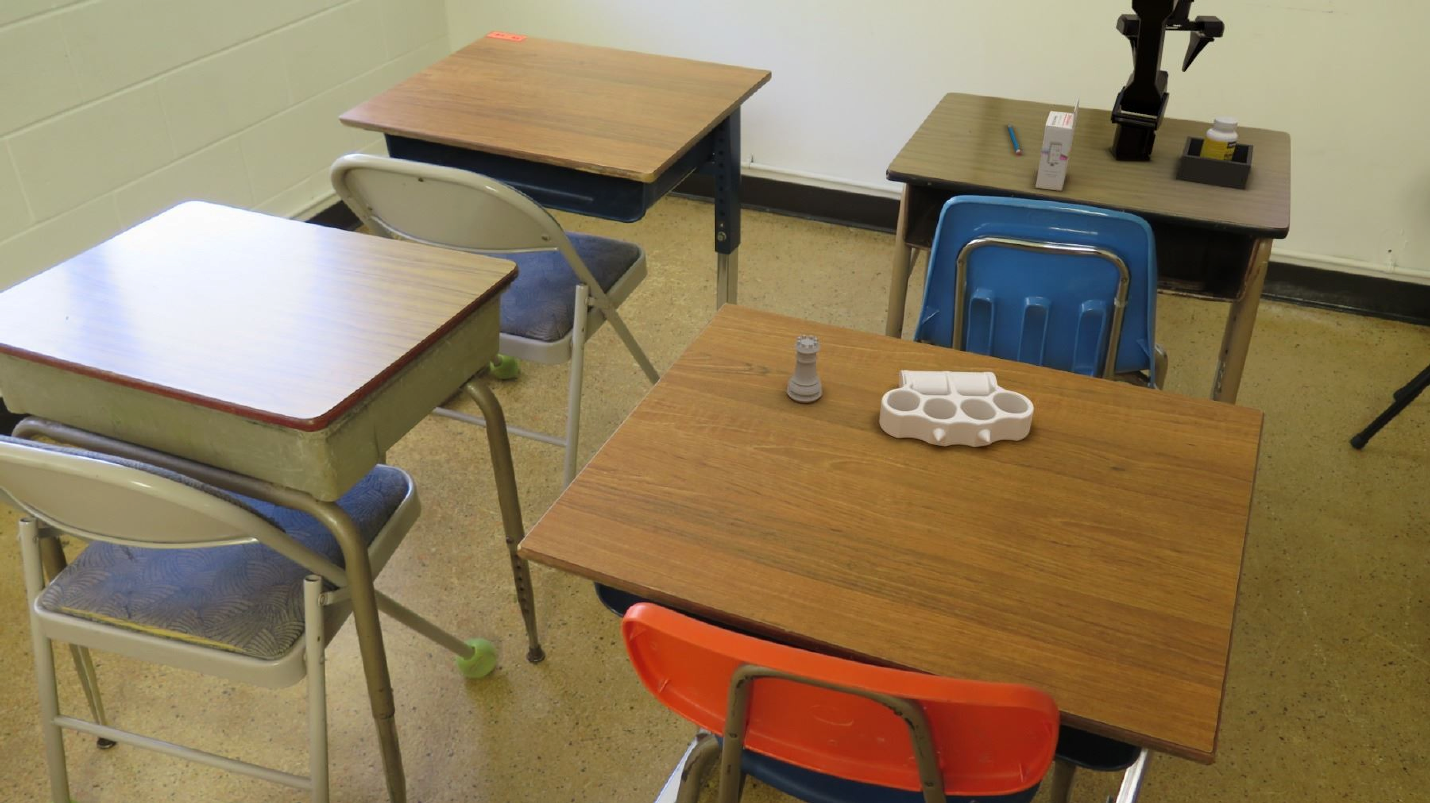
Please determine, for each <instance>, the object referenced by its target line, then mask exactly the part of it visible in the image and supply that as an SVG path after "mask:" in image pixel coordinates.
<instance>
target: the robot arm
mask: <svg viewBox="0 0 1430 803" xmlns="http://www.w3.org/2000/svg"><path fill="white" fill-rule="evenodd" d="M1192 3H1195V0H1131V9H1132V11H1133V12H1134V13H1121V15H1120V16H1118V18H1117V20H1116V26H1115V29H1116V30H1117V31H1118V32H1119V33H1120V34H1121V36H1124V37H1125V38H1126V39H1127V40H1128V41H1129V44H1130V49H1131V58H1132V66H1133V70H1132V72H1131V73H1130V75H1129V76H1128V79H1127V82H1126V84H1125V85H1123V86H1122V88H1121V90H1120V91H1119V92H1118V93H1117V96H1116V98H1115V102H1114V104H1113V106H1112V111H1111V116H1110V119H1109V120H1110V121H1111V124H1113V125H1115V124H1116V127H1115V128H1116V129H1115V133H1114V137H1113V142H1112V145H1109V146H1108V150H1109V151H1110V153H1111V155H1112V156H1113V157H1114V159H1115V160H1116V161H1138V162H1139V161H1140V162H1141V161H1143V162H1150V161H1152V160H1151V159H1152V157H1151V155H1152V153H1153V150H1154V145H1155V141H1156V137H1157V134H1156V133H1155V132H1157V131H1158V130H1159V128H1160V127H1161V126H1162V123H1163V120H1164V117H1165V113H1166V110H1167V107H1168V104H1169V98H1170V92H1168V84H1169V72H1168V71H1167V70H1161V67H1162V60H1163V52H1164V45H1165V38H1166V31H1167V32H1168V31H1169V32H1170V31H1172V32H1190V33H1189V43H1188V46H1187V49H1186V52H1185V55H1184V58H1183V61H1182V67H1181V71H1182V72H1183V73H1185V72H1187V70H1188V69H1189V68H1190V66H1191V65H1192V64H1193V62H1194V61H1195V59H1196V58H1197V57H1198V56H1199V54H1200V53H1201V52H1202V51H1203V50H1204V49H1205V48H1206V46H1207V45H1208V44H1209V43H1214V42H1215V39H1216V38H1223V36H1224V32H1225V29H1226V28H1225V22H1224V21H1223V20H1221V18H1219V17H1217V16H1216V15H1197V16H1196V17H1195V18H1194V20H1191V19H1190V18H1189V16H1190V13H1191V7H1192ZM1136 114H1138V115H1136ZM1143 115H1144V116H1143ZM1149 116H1150V117H1149ZM1154 117H1155V118H1154Z"/></svg>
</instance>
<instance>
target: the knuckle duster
mask: <svg viewBox="0 0 1430 803" xmlns="http://www.w3.org/2000/svg"><path fill="white" fill-rule="evenodd" d="M1034 411H1035V407H1034V404H1033V402H1032V401H1031V400H1030V398H1028V397H1027V396H1025V395H1023V394H1021V393H1019V392H1016V391H1013V390H1007V389H1005V388H1003V387H1001V386H1000V385H998V381H997V377H996V374H995V373H994V372H992V371H983V372H975V371H950V370H942V371H940V370H939V371H936V370H935V371H933V370H908V369H907V370H905V369H901V370H899V373H898V387H897V388H894V389H891V390H889V391H887V392H886V393H885V394H883V396H882V398H881V401H880V411H879V427H880V429H882V431H883V432H885V433H886V434H887V435H889V436H891V437H893V438H897V439H909V438H910V439H916V440H921V441H923V442H925V443H927V444H928V445H935V446H941V447H949V446H955V445H956V446H957V445H961V446H968V447H971V448H978V447H985V446H990V445H991V444H992V443H995V442H998V441H1016V442H1018V441H1021V440H1024V439H1025V438H1027V436H1028V435H1029V433H1030V431H1031V426H1032V420H1033V417H1034Z"/></svg>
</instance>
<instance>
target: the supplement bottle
mask: <svg viewBox="0 0 1430 803" xmlns="http://www.w3.org/2000/svg"><path fill="white" fill-rule="evenodd" d="M1238 124H1239V120H1238V119H1237V118H1235V117H1232V116H1228V115H1219V116H1215V117H1214V120H1213V123H1212V127H1211V128H1209V129H1207V131H1206V133H1205V137H1204V143H1203V146H1202V150H1201V153H1200V157H1204V158H1211V159H1218V160H1225V161H1231V159H1232V155H1233V152H1234V149H1235V145H1236V143H1238V142H1237V141H1238V138H1239V135H1238V133H1237V131H1236V130H1237V128H1238Z"/></svg>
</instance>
